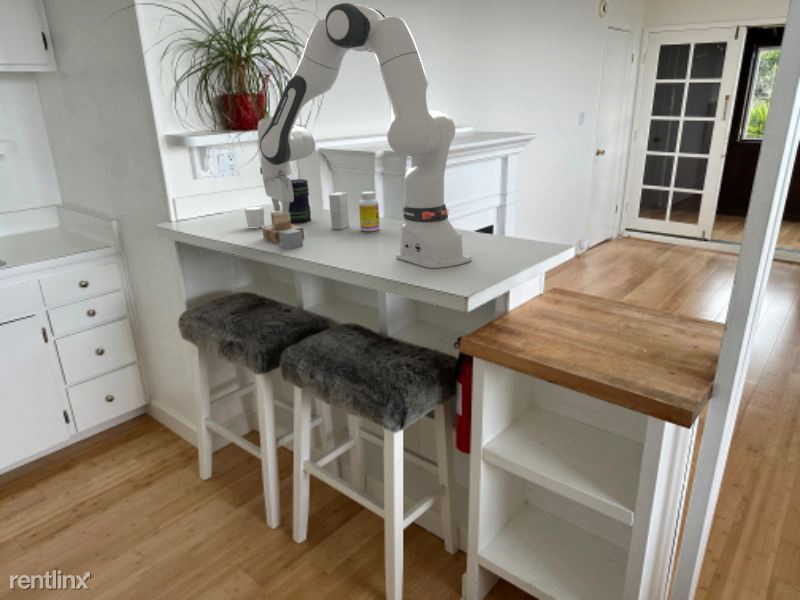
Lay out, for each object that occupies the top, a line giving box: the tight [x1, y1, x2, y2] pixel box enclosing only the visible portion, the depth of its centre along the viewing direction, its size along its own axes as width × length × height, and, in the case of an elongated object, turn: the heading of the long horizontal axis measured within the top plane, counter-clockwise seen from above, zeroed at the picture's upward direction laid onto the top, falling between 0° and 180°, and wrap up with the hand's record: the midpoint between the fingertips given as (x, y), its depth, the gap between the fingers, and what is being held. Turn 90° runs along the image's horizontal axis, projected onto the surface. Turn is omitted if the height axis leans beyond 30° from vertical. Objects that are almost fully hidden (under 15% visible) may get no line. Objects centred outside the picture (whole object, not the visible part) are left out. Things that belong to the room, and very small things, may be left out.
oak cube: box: [270, 210, 291, 230], centre depth 186 cm, size 5×5×5 cm
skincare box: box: [328, 191, 350, 230], centre depth 198 cm, size 6×4×12 cm
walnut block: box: [262, 224, 305, 245], centre depth 187 cm, size 10×10×4 cm
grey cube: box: [279, 229, 304, 250], centre depth 176 cm, size 5×5×5 cm
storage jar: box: [289, 178, 312, 225], centre depth 211 cm, size 10×10×15 cm
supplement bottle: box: [358, 190, 381, 232], centre depth 193 cm, size 7×7×13 cm
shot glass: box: [243, 206, 265, 228], centre depth 205 cm, size 7×7×7 cm
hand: (281, 213), depth 185 cm, fingers open, 8 cm apart
